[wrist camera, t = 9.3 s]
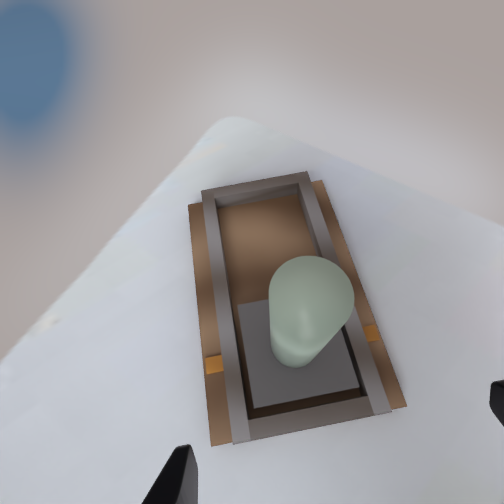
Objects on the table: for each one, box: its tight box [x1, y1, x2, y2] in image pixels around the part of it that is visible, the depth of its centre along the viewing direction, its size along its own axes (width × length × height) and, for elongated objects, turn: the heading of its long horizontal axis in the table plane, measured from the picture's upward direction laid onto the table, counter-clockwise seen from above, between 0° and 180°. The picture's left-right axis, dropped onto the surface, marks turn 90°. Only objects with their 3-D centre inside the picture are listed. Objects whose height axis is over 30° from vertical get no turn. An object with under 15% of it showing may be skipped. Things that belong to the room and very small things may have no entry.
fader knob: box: [237, 256, 359, 408], centre depth 15 cm, size 6×6×11 cm
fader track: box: [188, 171, 407, 447], centre depth 22 cm, size 18×12×3 cm, turn 10°
